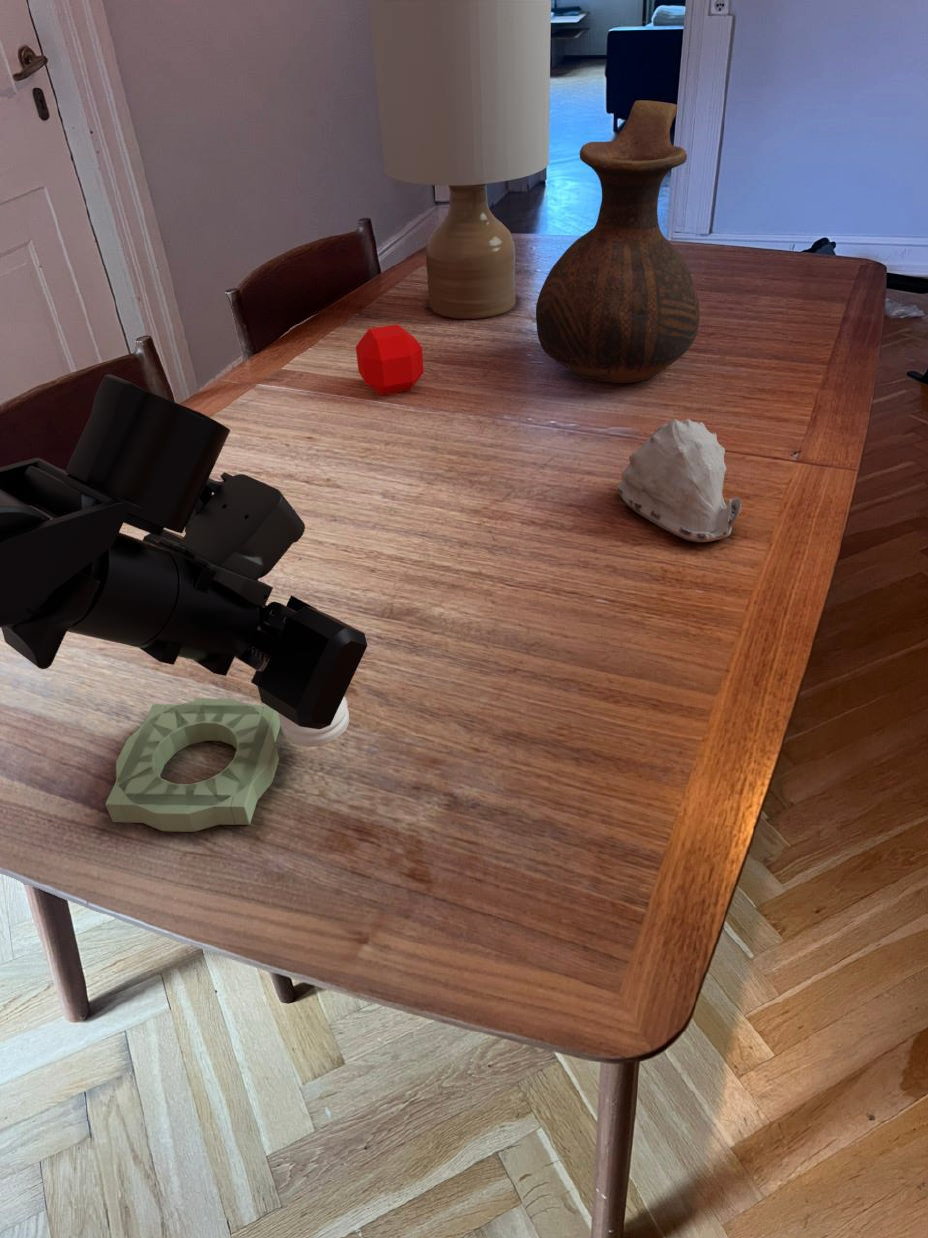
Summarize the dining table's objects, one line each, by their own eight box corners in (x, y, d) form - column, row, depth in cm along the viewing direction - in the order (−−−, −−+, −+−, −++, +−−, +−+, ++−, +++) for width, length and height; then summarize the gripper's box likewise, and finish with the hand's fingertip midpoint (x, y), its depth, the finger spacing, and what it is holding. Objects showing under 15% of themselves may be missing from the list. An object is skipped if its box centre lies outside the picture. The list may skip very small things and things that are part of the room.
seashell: (711, 557, 85) (726, 465, 79) (598, 506, 93) (603, 418, 87) (779, 507, 91) (798, 418, 85) (668, 463, 99) (677, 379, 93)
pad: (99, 830, 63) (91, 812, 61) (153, 715, 71) (147, 697, 70) (257, 833, 62) (251, 815, 60) (292, 717, 71) (287, 699, 69)
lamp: (385, 290, 150) (355, -15, 123) (521, 272, 153) (520, -26, 127) (413, 341, 131) (385, -4, 105) (567, 320, 135) (577, -18, 109)
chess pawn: (313, 691, 68) (295, 598, 62) (363, 716, 66) (349, 621, 60) (267, 731, 65) (243, 636, 59) (318, 758, 62) (299, 662, 57)
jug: (729, 375, 117) (768, 118, 98) (590, 413, 110) (603, 144, 91) (634, 324, 132) (651, 94, 114) (507, 354, 126) (504, 115, 107)
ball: (413, 370, 123) (408, 316, 118) (429, 393, 117) (425, 336, 112) (357, 380, 121) (350, 325, 116) (370, 404, 115) (363, 347, 110)
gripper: (319, 514, 44) (468, 588, 57) (107, 418, 53) (277, 501, 67) (225, 718, 44) (395, 744, 57) (31, 586, 54) (215, 634, 67)
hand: (317, 645), depth 62 cm, fingers closed on chess pawn, 3 cm apart
